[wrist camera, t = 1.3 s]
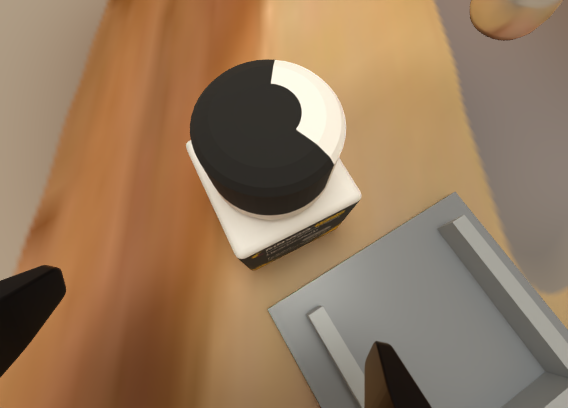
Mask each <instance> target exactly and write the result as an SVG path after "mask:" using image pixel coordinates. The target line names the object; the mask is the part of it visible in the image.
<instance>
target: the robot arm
mask: <svg viewBox="0 0 568 408" xmlns="http://www.w3.org/2000/svg"><path fill="white" fill-rule="evenodd" d="M65 293H66V286H65V282H64V278H63V275H62V271H61V270H60V269H59V268H57V267H53V266H49V265H43V266H39V267H37V268H34V269H31V270H28V271H26V272H23V273H20V274H17V275H15V276H12V277H9V278H7V279H4V280H1V281H0V377H1V376H2V375H3V374H4V373H5V372H6V370H7V369H8V368H9V367H10V366H11V365H12V364H13V362H14V361H15V360H16V359H17V358H18V357H19V356H20V354H21V353H22V352H23V351H24V350H25V348H26V347H27V346H28V345H29V343H30V342H31V341H32V339H33V338H34V337H35V335H36V334H37V333H38V331H39V330H40V329H41V327H42V326H43V325H44V323H45V322H46V320H47V319H48V318H49V316H50V315H51V314H52V312H53V311H54V310H55V308H56V307H57V305H58V304H59V303H60V301H61V300H62V299H63V297H64V295H65ZM364 408H432V407H431V405H430V404H429V402H428V401H427V399H426V398H425V396H424V394H423V393H422V391H421V390H420V388H419V387H418V385H417V384H416V382H415V381H414V379H413V378H412V376H411V374H410V373H409V371H408V370H407V368H406V367H405V365H404V364H403V362H402V361H401V359H400V358H399V356H398V354H397V353H396V351H395V350H394V348H393V347H392V346H391V345H390V344H388V343H384V342H380V341H375V342H374V343H373V345H372V347H371V349H370V351H369V353H368V356H367V358H366V361H365V369H364Z"/></svg>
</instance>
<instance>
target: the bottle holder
mask: <svg viewBox="0 0 568 408" xmlns="http://www.w3.org/2000/svg"><path fill="white" fill-rule="evenodd" d="M268 311H269V313H270V315H271V317H272V319H273V320H274V322H275V324H276V326H277V328H278V330H279V331H280V333H281V335H282V337H283V339H284V340H285V342H286V344H287V346H288V348H289V350H290V351H291V353H292V355H293V357H294V359H295V361H296V362H297V364H298V366H299V368H300V370H301V372H302V373H303V375H304V377H305V379H306V381H307V383H308V384H309V386H310V388H311V390H312V392H313V394H314V395H315V397H316V399H317V401H318V403H319V404H320V406H321V408H364V369H365V361H366V358H367V356H368V353H369V351H370V349H371V347H372V345H373V343H374V342H375V341H380V342H384V343H388V344H390V345H391V346H392V347H393V348H394V350H395V351H396V353H397V354H398V356H399V358H400V359H401V361H402V362H403V364H404V365H405V367H406V368H407V370H408V371H409V373H410V374H411V376H412V378H413V379H414V381H415V382H416V384H417V385H418V387H419V388H420V390H421V391H422V393H423V394H424V396H425V398H426V399H427V401H428V402H429V404H430V405H431V407H432V408H568V330H567V329H566V327H565V326H564V325H563V324H562V322H561V321H560V320H559V319H558V317H557V316H556V315H555V314H554V313H553V311H552V310H551V309H550V308H549V306H548V305H547V304H546V303H545V301H544V300H543V299H542V298H541V297H540V295H539V294H538V293H537V292H536V290H535V289H534V288H533V287H532V285H531V284H530V283H529V282H528V281H527V279H526V278H525V277H524V276H523V274H522V273H521V272H520V271H519V269H518V268H517V267H516V266H515V265H514V263H513V262H512V261H511V260H510V258H509V257H508V256H507V255H506V253H505V252H504V251H503V250H502V249H501V247H500V246H499V245H498V244H497V242H496V241H495V240H494V239H493V237H492V236H491V235H490V234H489V233H488V231H487V230H486V229H485V228H484V226H483V225H482V224H481V223H480V222H479V220H478V219H477V218H476V217H475V215H474V214H473V213H472V212H471V210H470V209H469V208H468V207H467V206H466V204H465V203H464V202H463V201H462V199H461V198H460V197H459V196H458V194H457V193H456V192H454V193H452V194H450V195H449V196H447V197H446V198H444V199H442V200H441V201H439V202H438V203H436V204H434V205H433V206H431V207H430V208H428V209H427V210H425V211H423V212H422V213H420V214H419V215H417V216H415V217H414V218H412V219H411V220H409V221H407V222H406V223H404V224H403V225H401V226H399V227H398V228H396V229H395V230H393V231H391V232H390V233H388V234H387V235H385V236H383V237H382V238H380V239H379V240H377V241H375V242H374V243H372V244H371V245H369V246H368V247H366V248H364V249H363V250H361V251H360V252H358V253H356V254H355V255H353V256H352V257H350V258H348V259H347V260H345V261H344V262H342V263H340V264H339V265H337V266H336V267H334V268H332V269H331V270H329V271H328V272H326V273H324V274H323V275H321V276H320V277H318V278H316V279H315V280H313V281H312V282H310V283H309V284H307V285H305V286H304V287H302V288H301V289H299V290H297V291H296V292H294V293H293V294H291V295H289V296H288V297H286V298H285V299H283V300H281V301H280V302H278V303H277V304H275V305H273V306H272V307H270V308H269V309H268Z"/></svg>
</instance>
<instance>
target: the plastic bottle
mask: <svg viewBox="0 0 568 408" xmlns="http://www.w3.org/2000/svg"><path fill="white" fill-rule="evenodd" d="M562 1H563V0H471V2H470V19H471V22H472V23H473V25H474V27H475V28H476V29H477V30H478V31H479V32H481V33H482V34H484V35H486V36H487V37H490V38H492V39H497V40H513V39H516V38H519V37H522V36H525V35H527V34H529V33H531V32H532V31H533V30H535V29H536V28H537V27H538V26H540V25H541V24H542V23H544V22H545V21H546V20H547V19H549V18H550V16H551V15H552V14H553V13H554V12H555V10H556V9H557V8H558V6H559V5H560V4H561V3H562Z"/></svg>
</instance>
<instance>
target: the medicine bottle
mask: <svg viewBox="0 0 568 408" xmlns="http://www.w3.org/2000/svg"><path fill="white" fill-rule="evenodd" d="M190 137H191V140H190V141H188V142H187V144H186V148H187V151H188V153H189V156H190V158H191V160H192V162H193V164H194V166H195V169H196V171H197V173H198V175H199V177H200V180H201V182H202V184H203V186H204V188H205V190H206V193H207V195H208V197H209V199H210V201H211V204H212V206H213V208H214V210H215V212H216V214H217V217H218V219H219V221H220V223H221V225H222V228H223V230H224V232H225V234H226V236H227V238H228V241H229V243H230V245H231V247H232V249H233V251H234V254H235V255H236V257H237V258H238V259H239V260H240V261H242V262H243V263H244V264H245V265H246V266H247V267H248V268H249V269H251V270H256V269H258V268H260V267H262V266H264V265H266V264H268V263H270V262H272V261H274V260H276V259H278V258H280V257H282V256H284V255H286V254H288V253H290V252H291V251H293V250H295V249H297V248H299V247H301V246H303V245H305V244H307V243H309V242H311V241H313V240H315V239H317V238H319V237H321V236H323V235H325V234H327V233H329V232H331V231H332V230H334V229H336V228H337V227H338V226H339V225H340V224H341V222H342V221H343V220H344V219H345V218H346V216H347V215H348V214H349V213H350V211H351V210H352V209H353V208H354V207H355V205H356V204H357V203H358V202H359V200H360V199H361V192H360V190H359V189H358V187H357V186H356V184H355V182H354V181H353V179H352V178H351V176H350V174H349V173H348V171H347V170H346V168H345V166H344V165H343V163H342V162H341V160H340V158H339V156H340V153H341V151H342V148H343V146H344V141H345V137H346V121H345V115H344V111H343V108H342V106H341V103H340V101H339V99H338V97H337V96H336V94H335V93H334V91H333V90H332V89H331V88H330V86H329V85H328V84H327V83H326V82H324V81H323V80H322V79H321V78H320V77H318V76H317V75H316V74H314V73H313V72H311V71H309V70H308V69H306V68H304V67H302V66H299V65H296V64H294V63H290V62H286V61H280V60H256V61H251V62H246V63H243V64H240V65H237V66H235V67H233V68H231V69H229V70H227V71H226V72H224V73H222V74H221V75H220V76H219V77H217V78H216V79H215V80H214V81H212V82H211V83H210V84H209V85H208V87H207V88H206V89H205V90H204V91H203V93H202V94H201V95H200V97H199V99H198V101H197V103H196V104H195V107H194V110H193V113H192V116H191V122H190Z"/></svg>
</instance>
